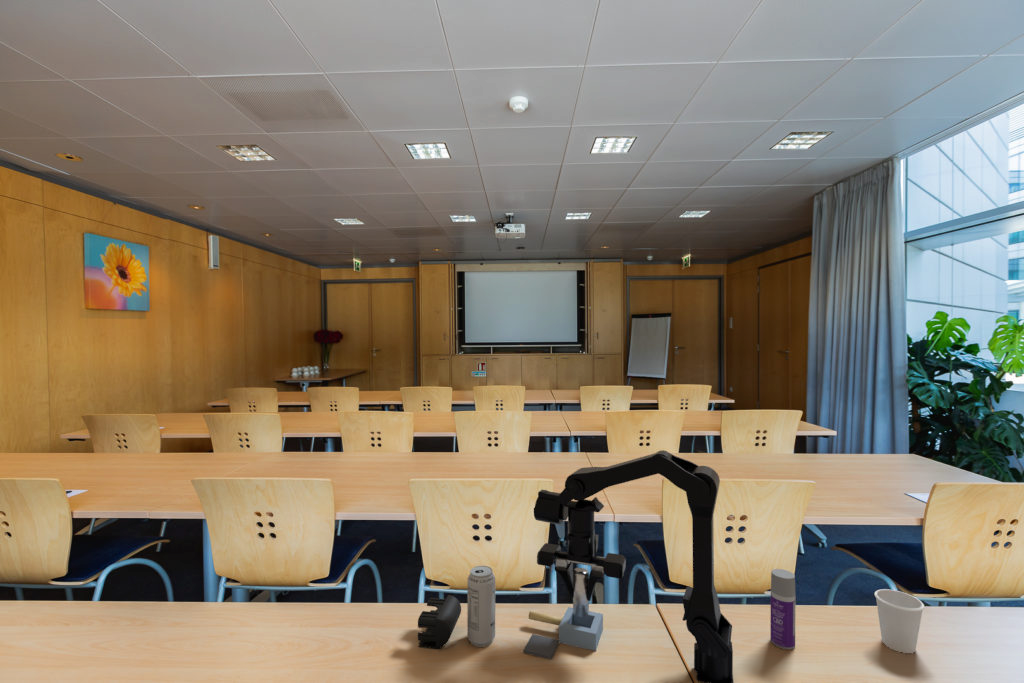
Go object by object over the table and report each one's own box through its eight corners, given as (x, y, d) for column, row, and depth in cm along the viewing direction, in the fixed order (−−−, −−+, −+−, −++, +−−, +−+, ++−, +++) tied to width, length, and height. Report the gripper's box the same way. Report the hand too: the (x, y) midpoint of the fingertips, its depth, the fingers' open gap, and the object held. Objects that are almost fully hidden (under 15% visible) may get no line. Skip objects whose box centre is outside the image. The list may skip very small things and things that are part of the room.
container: (770, 646, 105) (770, 575, 105) (770, 634, 109) (770, 566, 109) (795, 652, 103) (796, 580, 103) (794, 640, 107) (795, 571, 107)
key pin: (586, 617, 106) (587, 576, 106) (571, 614, 107) (571, 573, 107) (590, 609, 109) (590, 569, 109) (575, 606, 110) (575, 566, 110)
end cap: (449, 652, 103) (449, 620, 103) (417, 649, 104) (417, 617, 104) (461, 624, 113) (461, 595, 113) (431, 622, 114) (431, 592, 114)
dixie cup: (893, 657, 101) (893, 609, 101) (865, 633, 109) (865, 588, 109) (934, 658, 101) (935, 609, 101) (903, 634, 109) (903, 589, 109)
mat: (558, 642, 106) (558, 639, 106) (551, 659, 100) (551, 656, 100) (532, 636, 108) (532, 633, 108) (523, 652, 102) (523, 650, 102)
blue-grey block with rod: (602, 629, 110) (602, 613, 110) (595, 651, 103) (595, 633, 103) (535, 615, 116) (535, 600, 116) (523, 634, 109) (523, 618, 109)
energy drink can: (498, 645, 105) (498, 575, 105) (470, 650, 103) (470, 579, 103) (491, 629, 111) (491, 562, 110) (465, 634, 109) (465, 566, 109)
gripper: (629, 520, 112) (629, 588, 112) (550, 510, 119) (550, 574, 119) (622, 539, 102) (621, 614, 102) (536, 526, 109) (536, 597, 109)
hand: (580, 598), depth 108 cm, fingers closed on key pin, 3 cm apart
